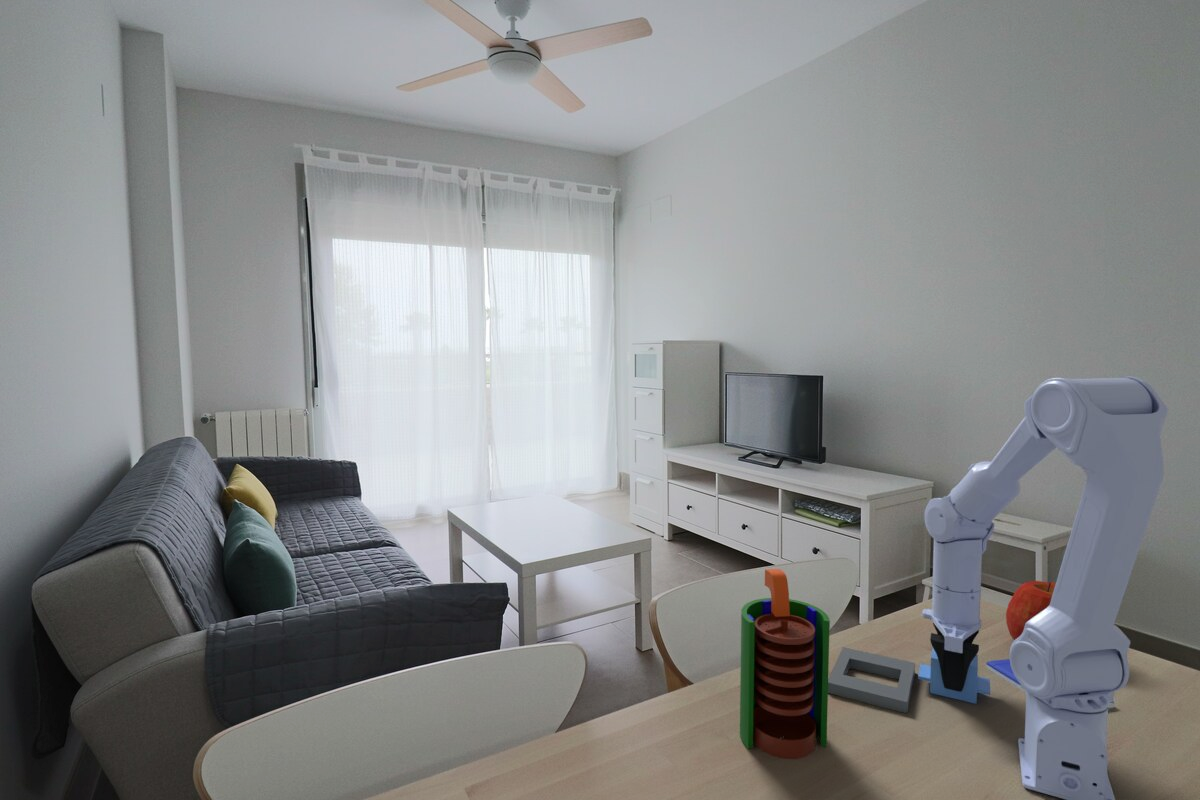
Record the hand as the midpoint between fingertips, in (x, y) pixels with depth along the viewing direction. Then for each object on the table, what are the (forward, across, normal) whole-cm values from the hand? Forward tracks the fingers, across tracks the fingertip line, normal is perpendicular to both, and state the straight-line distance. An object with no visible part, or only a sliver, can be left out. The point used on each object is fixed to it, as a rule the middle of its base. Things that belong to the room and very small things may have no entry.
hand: (953, 681), depth 86 cm
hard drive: (+2, -8, +11) cm, 14 cm away
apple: (+2, -22, +12) cm, 25 cm away
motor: (+2, +22, -18) cm, 28 cm away
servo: (+1, 0, 0) cm, 1 cm away
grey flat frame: (+1, +3, -10) cm, 11 cm away
